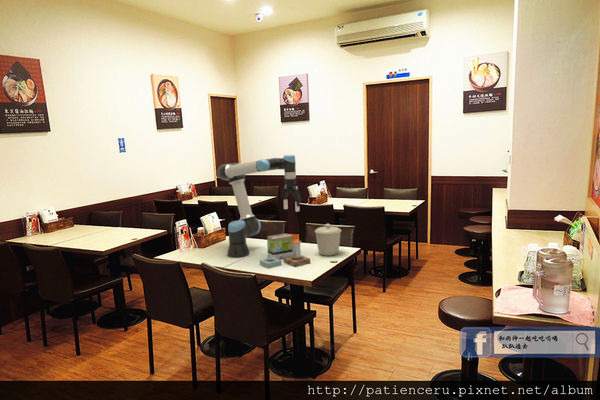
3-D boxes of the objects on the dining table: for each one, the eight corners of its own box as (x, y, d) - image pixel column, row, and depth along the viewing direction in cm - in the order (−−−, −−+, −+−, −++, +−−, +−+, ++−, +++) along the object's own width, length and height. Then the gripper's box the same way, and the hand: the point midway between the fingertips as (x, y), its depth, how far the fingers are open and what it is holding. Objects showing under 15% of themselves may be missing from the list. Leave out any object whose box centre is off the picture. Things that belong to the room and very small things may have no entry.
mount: (259, 264, 255) (259, 260, 255) (273, 261, 261) (272, 257, 260) (268, 268, 247) (267, 263, 247) (281, 265, 253) (281, 260, 252)
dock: (284, 262, 258) (284, 258, 257) (299, 259, 265) (299, 254, 264) (295, 267, 248) (294, 262, 248) (310, 263, 255) (310, 258, 254)
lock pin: (292, 262, 257) (291, 241, 255) (297, 261, 259) (297, 240, 257) (296, 264, 253) (295, 242, 251) (302, 263, 256) (301, 241, 254)
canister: (311, 256, 270) (310, 225, 267) (321, 249, 286) (320, 220, 283) (336, 258, 262) (335, 227, 259) (345, 251, 278) (344, 221, 275)
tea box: (274, 260, 263) (273, 238, 261) (267, 257, 272) (266, 236, 270) (294, 256, 271) (293, 235, 269) (286, 253, 280) (285, 232, 278)
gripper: (275, 177, 272) (276, 208, 275) (296, 179, 252) (298, 213, 255) (284, 177, 276) (285, 207, 279) (306, 178, 256) (307, 211, 259)
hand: (291, 210), depth 267 cm, fingers open, 13 cm apart
